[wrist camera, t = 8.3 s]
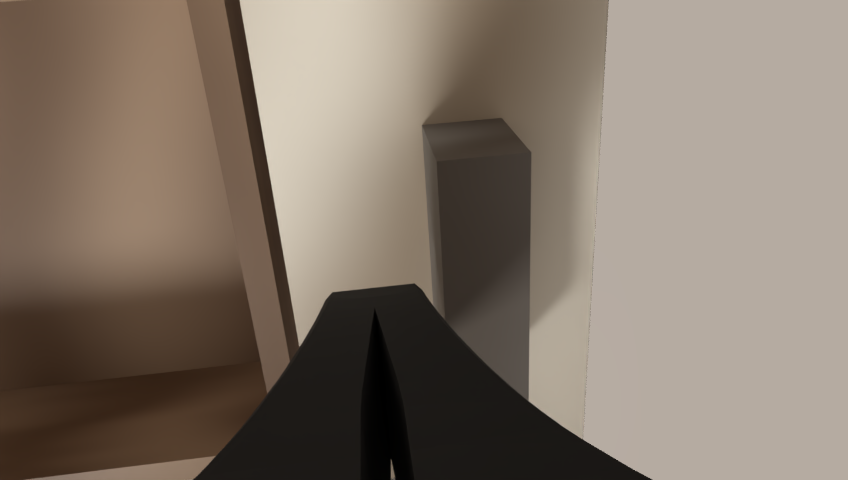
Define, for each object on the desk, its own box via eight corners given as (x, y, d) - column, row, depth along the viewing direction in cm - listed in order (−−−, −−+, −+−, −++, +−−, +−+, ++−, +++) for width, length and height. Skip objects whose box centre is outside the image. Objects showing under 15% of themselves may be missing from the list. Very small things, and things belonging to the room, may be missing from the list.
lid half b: (599, -80, 11) (671, -85, 8) (573, 435, 15) (614, 525, 13) (235, -56, 10) (203, -54, 8) (324, 467, 15) (320, 566, 13)
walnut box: (248, -57, 14) (213, -55, 10) (315, 362, 19) (309, 464, 15) (-355, -17, 13) (-622, 2, 9) (-124, 413, 18) (-243, 534, 14)
